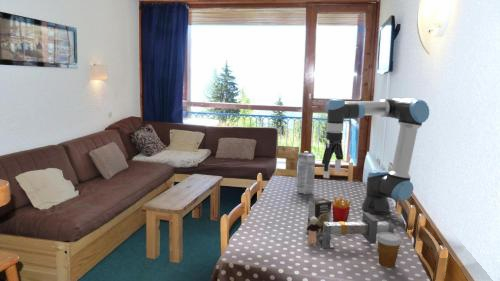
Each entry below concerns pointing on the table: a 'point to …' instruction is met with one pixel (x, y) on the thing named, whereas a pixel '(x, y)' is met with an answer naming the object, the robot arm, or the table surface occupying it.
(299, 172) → the juice carton
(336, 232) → the grey crossbar beam
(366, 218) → the grey flat piece
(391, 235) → the disposable coffee cup
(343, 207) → the french fries
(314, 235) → the grandmother figurine
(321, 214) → the coffee box
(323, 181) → the table surface
